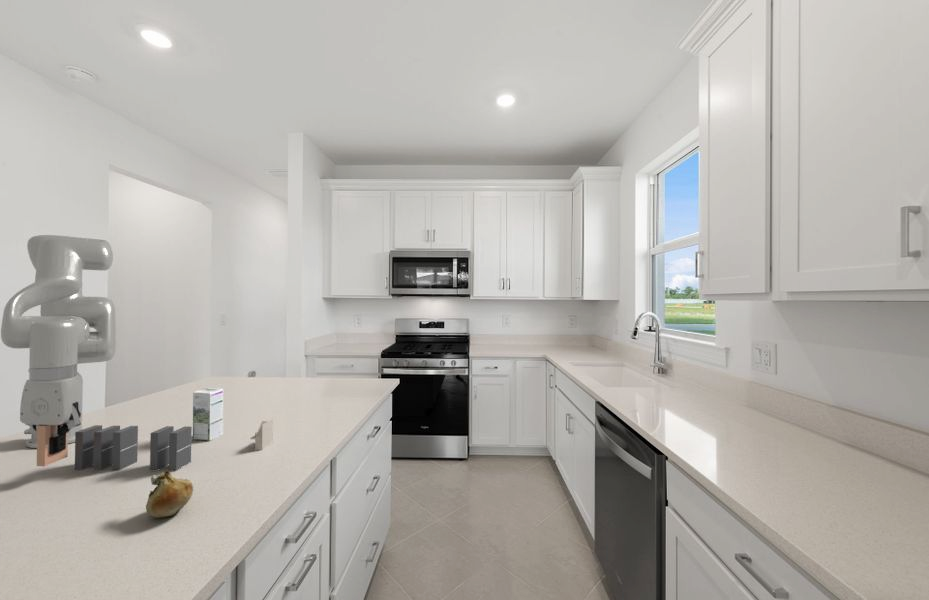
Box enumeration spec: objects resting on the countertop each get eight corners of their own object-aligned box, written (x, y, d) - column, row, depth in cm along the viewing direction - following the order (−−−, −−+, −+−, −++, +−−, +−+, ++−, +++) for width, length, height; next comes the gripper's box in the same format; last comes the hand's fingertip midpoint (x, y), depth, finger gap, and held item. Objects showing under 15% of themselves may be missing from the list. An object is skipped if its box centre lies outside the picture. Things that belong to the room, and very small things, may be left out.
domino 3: (93, 469, 93) (94, 432, 93) (112, 461, 98) (113, 425, 98) (100, 469, 93) (101, 432, 93) (119, 461, 98) (120, 425, 98)
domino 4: (112, 470, 93) (113, 432, 93) (130, 461, 98) (130, 425, 98) (119, 470, 93) (120, 432, 93) (137, 461, 98) (137, 425, 98)
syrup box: (223, 434, 118) (224, 387, 118) (209, 441, 112) (210, 392, 112) (206, 433, 118) (207, 387, 119) (191, 440, 113) (192, 391, 113)
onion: (136, 529, 69) (137, 485, 69) (152, 507, 76) (152, 467, 76) (186, 520, 72) (187, 478, 72) (197, 500, 79) (197, 462, 79)
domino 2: (74, 469, 93) (75, 431, 93) (94, 461, 98) (95, 425, 98) (82, 469, 93) (82, 432, 93) (101, 461, 98) (102, 425, 98)
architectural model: (249, 451, 106) (249, 425, 106) (263, 442, 113) (263, 417, 113) (261, 451, 106) (262, 425, 106) (274, 442, 113) (275, 417, 113)
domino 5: (149, 470, 93) (150, 432, 93) (166, 461, 98) (166, 426, 98) (157, 470, 93) (158, 433, 93) (173, 462, 98) (173, 426, 98)
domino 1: (36, 466, 86) (37, 425, 85) (59, 456, 91) (60, 418, 90) (44, 466, 86) (45, 426, 85) (67, 456, 91) (68, 418, 90)
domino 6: (168, 470, 93) (169, 433, 93) (183, 462, 98) (184, 426, 98) (176, 470, 93) (176, 433, 93) (190, 462, 98) (191, 426, 98)
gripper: (0, 375, 84) (-1, 457, 84) (70, 378, 84) (69, 460, 84) (38, 368, 91) (37, 443, 92) (103, 371, 91) (101, 446, 92)
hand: (52, 451), depth 88 cm, fingers closed on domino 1, 1 cm apart
